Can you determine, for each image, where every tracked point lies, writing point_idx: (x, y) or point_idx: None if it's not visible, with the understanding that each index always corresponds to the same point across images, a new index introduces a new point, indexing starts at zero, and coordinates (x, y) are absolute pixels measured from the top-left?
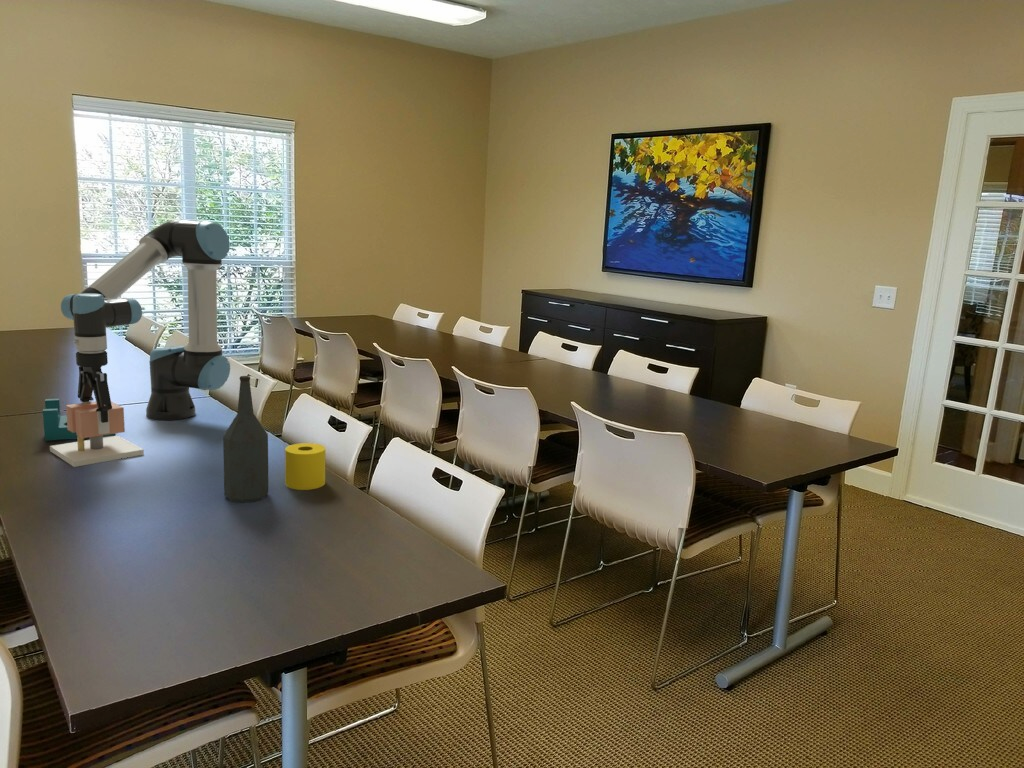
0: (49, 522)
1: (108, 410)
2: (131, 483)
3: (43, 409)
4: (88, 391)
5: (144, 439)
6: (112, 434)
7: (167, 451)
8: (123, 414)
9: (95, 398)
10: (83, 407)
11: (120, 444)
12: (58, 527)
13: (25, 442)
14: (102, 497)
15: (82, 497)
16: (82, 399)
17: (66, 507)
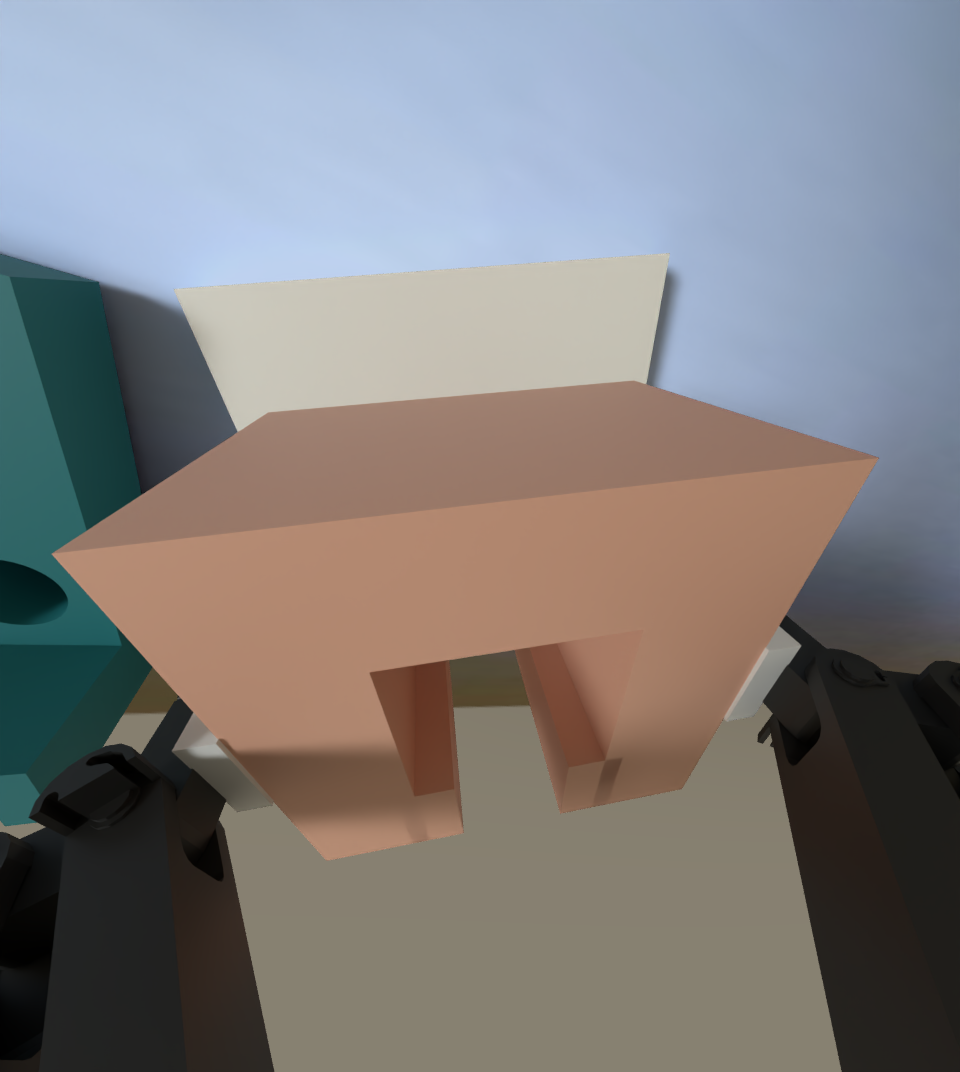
0: (903, 656)
1: (794, 639)
2: (920, 467)
3: (11, 823)
4: (235, 1053)
5: (207, 13)
6: (95, 307)
7: (709, 11)
8: (767, 428)
9: (815, 908)
10: (412, 765)
11: (459, 357)
12: (940, 647)
13: (150, 677)
14: (913, 562)
15: (860, 599)
16: (226, 854)
17: (874, 630)
